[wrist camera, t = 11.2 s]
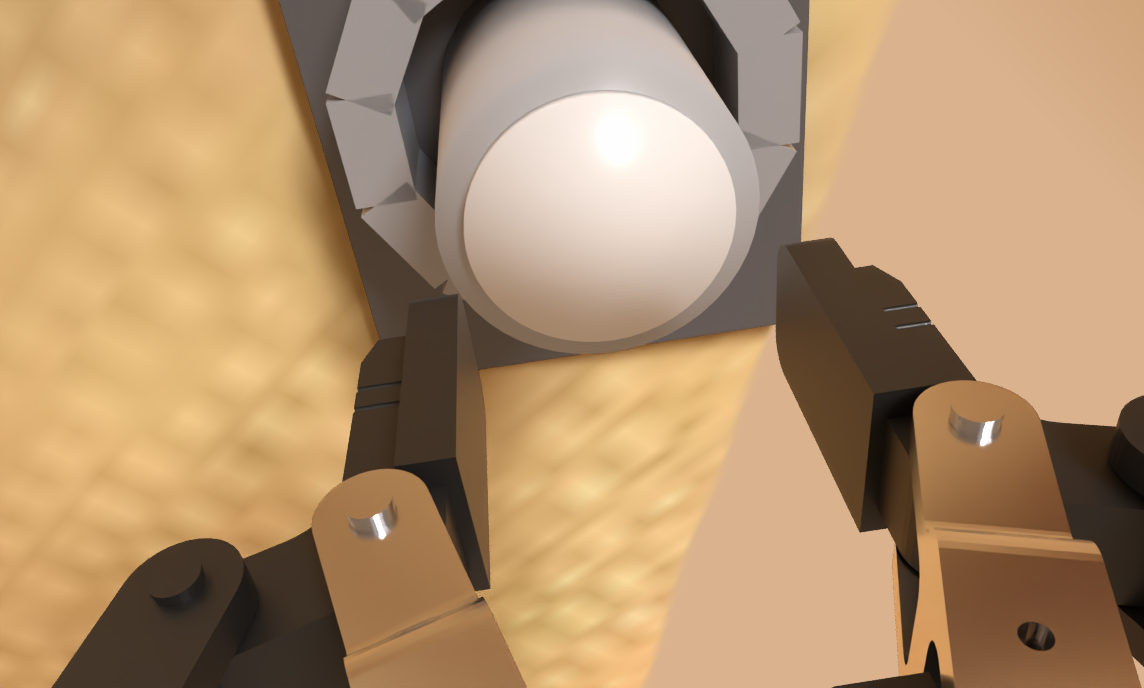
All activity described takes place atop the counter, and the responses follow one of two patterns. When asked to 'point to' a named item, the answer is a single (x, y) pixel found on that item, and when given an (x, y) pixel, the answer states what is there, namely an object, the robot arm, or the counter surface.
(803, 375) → the robot arm
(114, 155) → the counter surface
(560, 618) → the counter surface
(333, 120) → the plate with ring hole
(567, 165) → the peg
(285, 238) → the counter surface
